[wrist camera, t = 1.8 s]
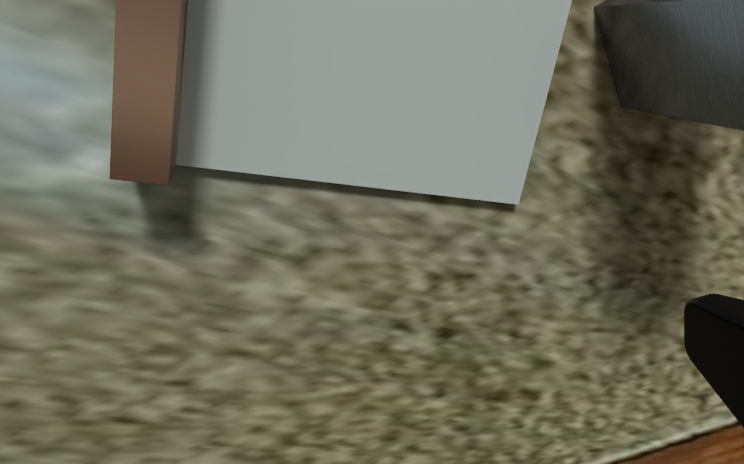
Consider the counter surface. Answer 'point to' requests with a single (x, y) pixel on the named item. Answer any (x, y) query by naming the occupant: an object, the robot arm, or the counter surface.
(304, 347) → the counter surface
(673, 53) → the bracket
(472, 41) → the mat
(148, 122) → the corner walls
